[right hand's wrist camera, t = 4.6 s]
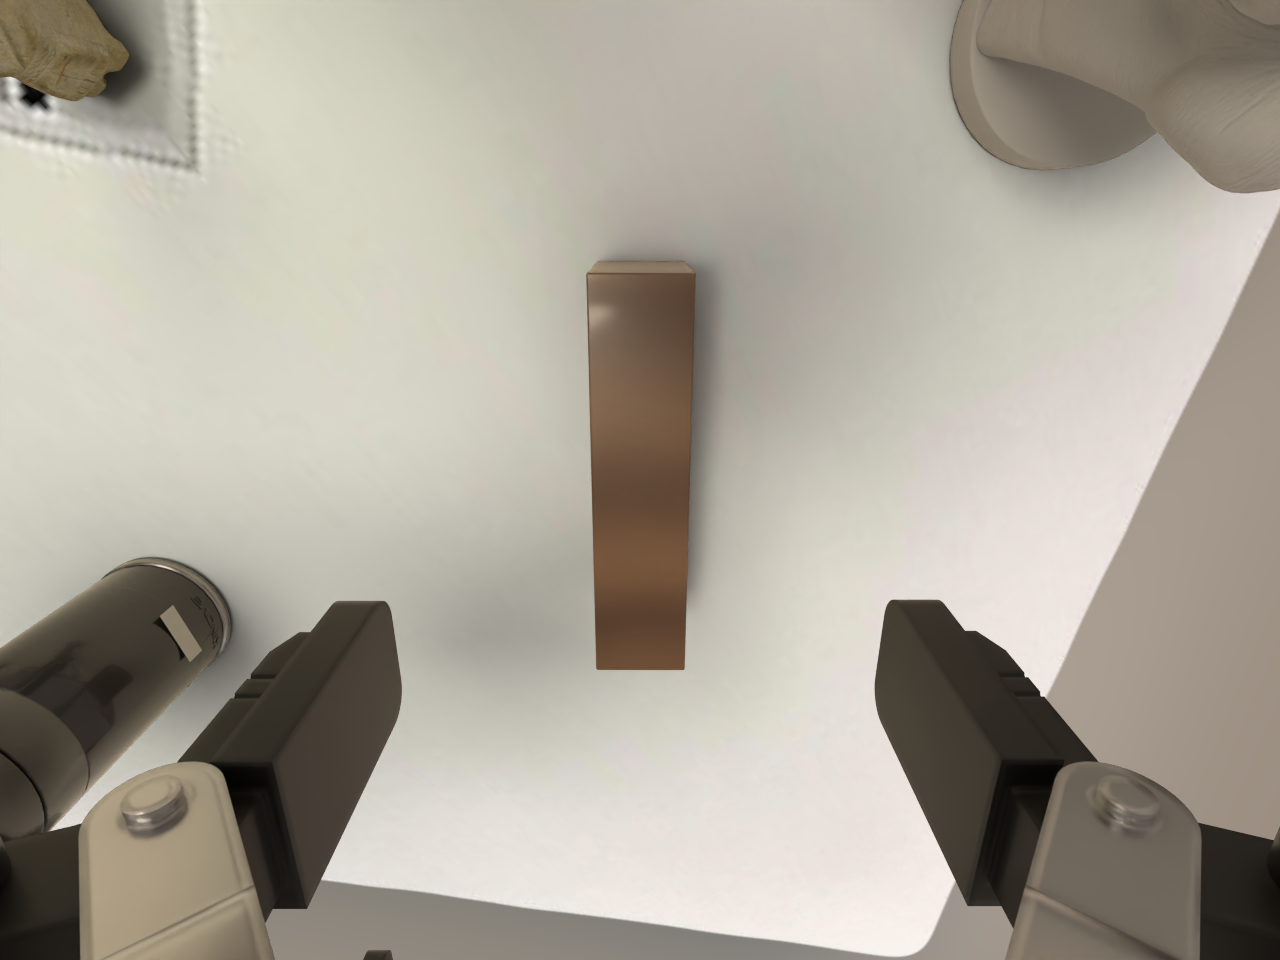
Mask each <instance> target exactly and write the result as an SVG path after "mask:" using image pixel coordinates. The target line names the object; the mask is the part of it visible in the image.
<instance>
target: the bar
mask: <svg viewBox="0 0 1280 960" xmlns="http://www.w3.org/2000/svg"><path fill="white" fill-rule="evenodd" d="M586 276H587V316H588V356H589V396H590V436H591V476H592V516H593V556H594V596H595V636H596V669H597V670H684V668H685V636H686V600H687V565H688V529H689V494H690V459H691V423H692V388H693V352H694V317H695V281H696V274H695V273H694V272H693V270H692V269H691V268H690V267H689V266H688V265H687V264H686V263H685V262H684V261H598V262H597V263H596V264H595V265H594V266H593V267H592V268H591V269H590V270H589V272H588V273H587V275H586Z"/></svg>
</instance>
